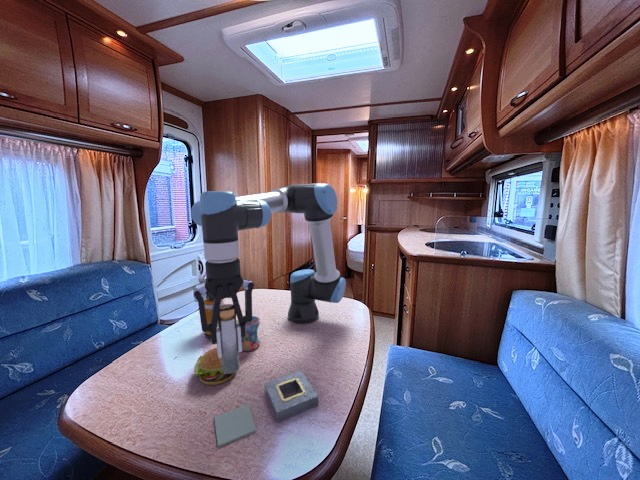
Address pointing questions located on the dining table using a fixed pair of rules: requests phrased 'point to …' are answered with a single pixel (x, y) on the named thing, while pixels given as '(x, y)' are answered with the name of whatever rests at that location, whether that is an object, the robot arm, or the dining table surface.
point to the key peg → (228, 338)
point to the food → (211, 368)
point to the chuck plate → (294, 403)
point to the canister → (209, 310)
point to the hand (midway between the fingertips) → (229, 351)
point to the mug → (250, 335)
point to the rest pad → (234, 425)
